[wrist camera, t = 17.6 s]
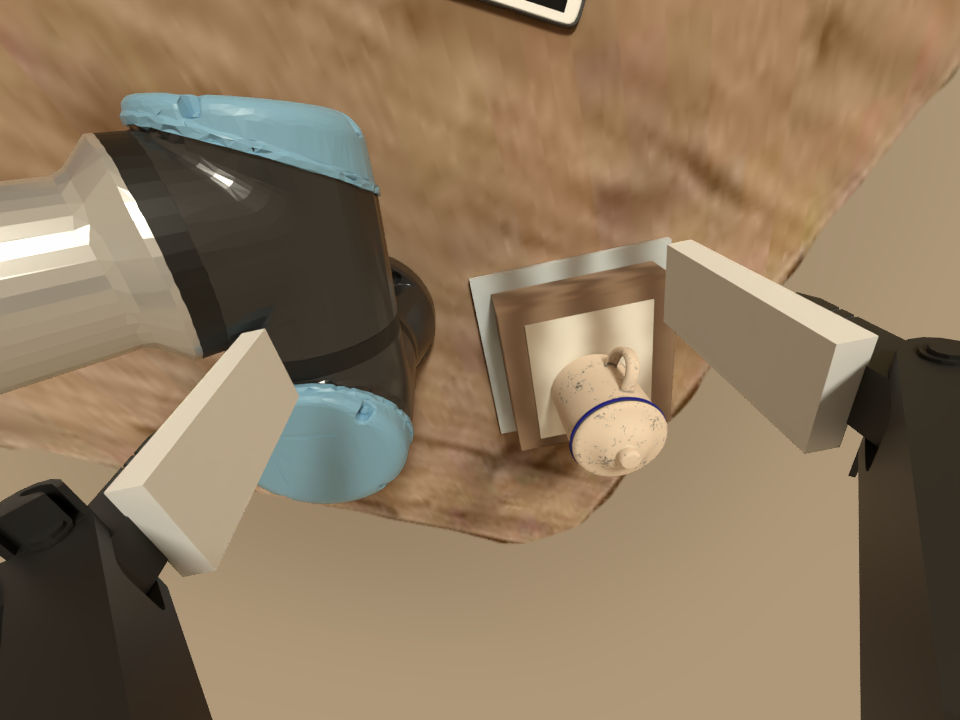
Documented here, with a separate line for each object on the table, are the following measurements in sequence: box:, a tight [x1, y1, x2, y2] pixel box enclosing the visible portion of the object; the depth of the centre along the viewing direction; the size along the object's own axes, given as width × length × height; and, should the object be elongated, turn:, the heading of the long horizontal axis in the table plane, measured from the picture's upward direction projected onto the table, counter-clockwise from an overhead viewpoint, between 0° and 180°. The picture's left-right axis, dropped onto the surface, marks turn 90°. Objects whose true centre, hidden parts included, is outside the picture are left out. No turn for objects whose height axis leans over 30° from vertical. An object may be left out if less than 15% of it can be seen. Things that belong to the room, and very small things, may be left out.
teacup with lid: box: [552, 347, 667, 476], centre depth 41 cm, size 12×9×12 cm
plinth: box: [469, 237, 676, 451], centre depth 49 cm, size 22×22×7 cm
